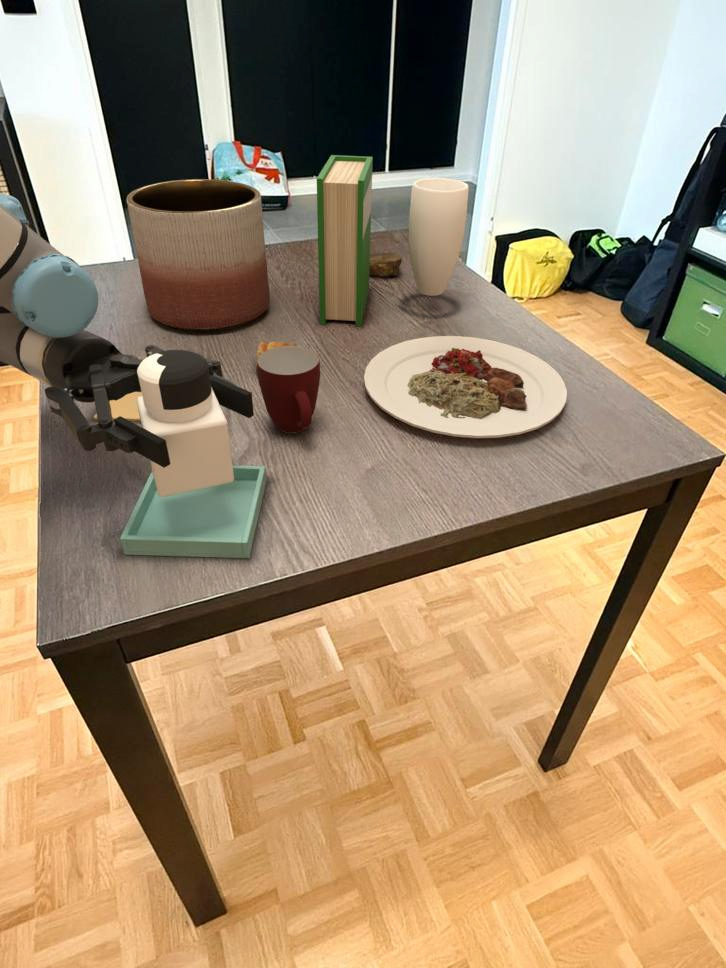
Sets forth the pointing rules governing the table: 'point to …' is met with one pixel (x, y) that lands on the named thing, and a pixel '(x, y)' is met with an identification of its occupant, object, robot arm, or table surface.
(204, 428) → the container
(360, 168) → the hardback book
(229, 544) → the tray
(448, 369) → the plated food
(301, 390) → the mug
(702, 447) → the table surface
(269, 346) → the pastry
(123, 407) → the mat
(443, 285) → the cup
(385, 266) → the decorative stone
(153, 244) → the planter
